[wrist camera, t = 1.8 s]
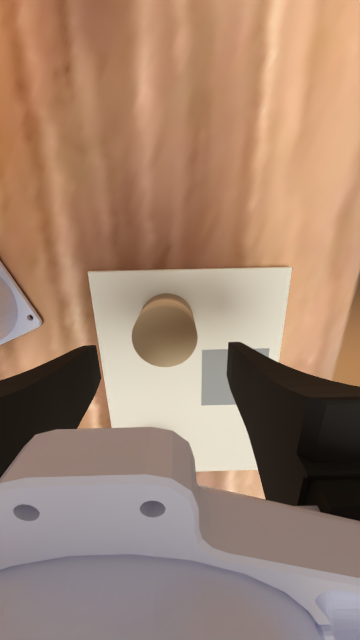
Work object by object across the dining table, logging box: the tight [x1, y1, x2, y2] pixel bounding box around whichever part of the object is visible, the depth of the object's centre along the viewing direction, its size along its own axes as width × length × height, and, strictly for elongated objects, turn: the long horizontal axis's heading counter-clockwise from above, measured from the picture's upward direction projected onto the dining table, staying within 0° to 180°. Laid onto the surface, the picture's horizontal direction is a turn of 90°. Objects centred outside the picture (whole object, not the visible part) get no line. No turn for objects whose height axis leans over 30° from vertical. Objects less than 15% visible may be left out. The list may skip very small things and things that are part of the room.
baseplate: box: [88, 266, 292, 472], centre depth 21 cm, size 22×16×1 cm
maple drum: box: [132, 293, 198, 367], centre depth 17 cm, size 4×4×4 cm
